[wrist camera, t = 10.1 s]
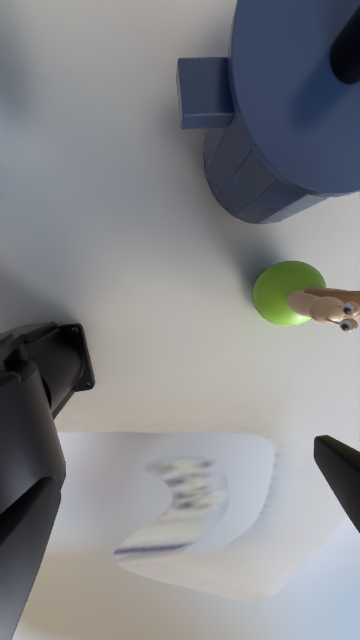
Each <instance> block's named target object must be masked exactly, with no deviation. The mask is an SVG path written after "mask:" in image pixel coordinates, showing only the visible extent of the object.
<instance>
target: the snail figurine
mask: <svg viewBox="0 0 360 640" xmlns="http://www.w3.org/2000/svg"><path fill="white" fill-rule="evenodd" d="M253 302H254V305H255V308H256V309H257V311H258V313H259V314H260V315H261V316H262V317H263V318H264V319H266V320H267V321H269V322H271V323H273V324H277V325H281V326H293V325H298V324H301V323H304V322H306V321H308V320H310V319H311V318H313V319H314V320H315V321H317V322H320V323H325V324H330V323H336V324H340V327H341V329H342V330H343V331H345V332H353V331H355V330H356V329H357V327H358V323H357V322H356V321H355V320H354V319H360V291H346V290H340V289H331V288H326V284H325V281H324V279H323V277H322V275H321V274H320V273H319V272H318V271H317V270H316V269H315V268H314V267H312V266H311V265H309V264H306V263H304V262H299V261H284V262H280V263H277V264H275V265H273V266H271V267H269V268H268V269H266V270H265V271H264V272H263V273H262V274H261V275H260V276H259V278H258V279H257V281H256V283H255V286H254V289H253ZM342 318H347V319H344V320H342V321H341V322H337V321H339V320H341V319H342ZM350 318H351V319H350Z"/></svg>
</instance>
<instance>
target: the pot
mask: <svg viewBox="0 0 360 640" xmlns="http://www.w3.org/2000/svg"><path fill="white" fill-rule="evenodd" d="M176 81H177V92H178V103H179V114H180V125H181V129H197V128H208V130H207V134H206V138H205V142H204V166H205V172H206V176H207V180H208V183H209V186H210V188H211V190H212V192H213V194H214V196H215V197H216V199H217V200H218V202H219V203H220V204H221V205H222V206H223V208H224V209H225V210H227V211H228V212H229V213H230V214H232V215H233V216H235V217H236V218H238V219H240V220H243V221H245V222H249V223H254V224H268V223H273V222H279V221H281V220H283V219H285V218H287V217H290V216H292V215H294V214H296V213H298V212H300V211H302V210H304V209H306V208H308V207H310V206H312V205H314V204H317V203H319V202H321V201H323V200H325V199H327V198H329V197H319V196H313V195H308V194H305V193H302V192H299V191H296V190H294V189H292V188H291V187H289V186H287V185H285V184H284V183H282V182H281V181H279V180H278V179H277V178H275V177H274V176H273V175H272V174H271V173H270V172H269V171H268V170H267V169H266V168H265V167H264V166H263V165H262V164H261V162H260V161H259V160H258V159H257V157H256V156H255V155H254V153H253V151H252V150H251V148H250V146H249V145H248V143H247V141H246V139H245V137H244V135H243V133H242V130H241V128H240V126H239V123H238V120H237V116H236V113H235V110H234V106H233V101H232V96H231V91H230V82H229V72H228V57H207V58H179V59H178V63H177V75H176Z"/></svg>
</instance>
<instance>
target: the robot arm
mask: <svg viewBox="0 0 360 640" xmlns="http://www.w3.org/2000/svg"><path fill="white" fill-rule="evenodd" d="M75 327H77V328H78V331H75V329H74V328H75ZM87 383H90V384H91V385H88V384H87ZM94 385H95V380H94V376H93V371H92V367H91V362H90V358H89V353H88V349H87V344H86V340H85V335H84V331H83V327H82V325H80V324H78V323H75V324H67V325H59V326H57V324H56V323H54V322H49V323H41V324H33V325H25V326H22V327H19V328H16V329H13V330H10V331H7V332H5V333H0V640H12V637H13V635H14V632H15V630H16V627H17V625H18V622H19V619H20V617H21V614H22V612H23V609H24V607H25V604H26V602H27V599H28V597H29V594H30V592H31V589H32V587H33V584H34V581H35V579H36V576H37V574H38V571H39V568H40V565H41V562H42V559H43V556H44V553H45V550H46V546H47V543H48V540H49V537H50V534H51V531H52V527H53V525H54V521H55V518H56V515H57V512H58V508H59V505H60V502H61V492H60V491H61V488H62V485H63V483H64V480H65V477H66V463H65V460H64V456H63V452H62V449H61V445H60V442H59V438H58V435H57V431H56V428H55V424H54V421H53V420H54V419H55V418H56V416H57V415H58V414H59V412H60V411H61V410H62V408H63V407H64V406H65V404H66V403H67V402H68V400H69V399H70V398H71V396H72V395H73V394H74V392H78V391H84V390H90V389H92V388H93V387H94ZM314 459H315V462H316V464H317V465H318V467H319V469H320V470H321V472H322V474H323V475H324V477H325V479H326V480H327V482H328V484H329V485H330V487H331V489H332V490H333V492H334V494H335V495H336V497H337V499H338V500H339V502H340V504H341V505H342V507H343V509H344V510H345V512H346V514H347V515H348V517H349V518H350V520H351V521H352V523H353V524H354V526H355V527H356V529H357V530H358V531H359V533H360V452H359V451H357V450H355V449H353V448H351V447H349V446H348V445H346V444H344V443H342V442H340V441H338V440H336V439H334V438H332V437H331V436H328V435H322V436H316V437H315V439H314Z"/></svg>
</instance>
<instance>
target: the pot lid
mask: <svg viewBox="0 0 360 640" xmlns="http://www.w3.org/2000/svg"><path fill="white" fill-rule="evenodd" d="M228 72H229V82H230V91H231V96H232V101H233V106H234V110H235V113H236V116H237V120H238V123H239V126H240V128H241V130H242V133H243V135H244V137H245V139H246V141H247V143H248V145H249V146H250V148H251V150H252V151H253V153H254V155H255V156H256V157H257V159H258V160H259V161H260V162H261V164H262V165H263V166H264V167H265V168H266V169H267V170H268V171H269V172H270V173H271V174H272V175H273V176H274V177H275V178H277V179H278V180H279V181H281V182H282V183H284V184H285V185H287V186H289V187H291V188H292V189H294V190H296V191H299V192H302V193H305V194H308V195H313V196H319V197H339V196H345V195H350V194H353V193H356V192H359V191H360V0H237V3H236V7H235V11H234V16H233V21H232V25H231V31H230V40H229V50H228Z"/></svg>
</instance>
